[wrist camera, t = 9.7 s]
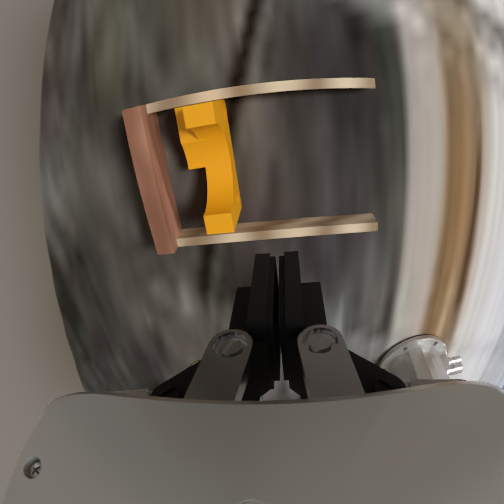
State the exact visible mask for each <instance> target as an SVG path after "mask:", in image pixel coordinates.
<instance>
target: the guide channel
mask: <svg viewBox="0 0 504 504" xmlns="http://www.w3.org/2000/svg"><path fill="white" fill-rule="evenodd" d="M329 88H375V78H322V79H302V80H288V81H277V82H267V83H258V84H250V85H242V86H235V87H229V88H222V89H216V90H210V91H205V92H200V93H194V94H189V95H185V96H180V97H175V98H171V99H167V100H162V101H158V102H154V103H150V104H146V105H141V106H137V107H134V108H130V109H126V110H123V111H122V114H123V119H124V124H125V129H126V134H127V138H128V143H129V148H130V152H131V156H132V161H133V165H134V169H135V173H136V177H137V181H138V185H139V189H140V193H141V197H142V201H143V204H144V208H145V212H146V215H147V219H148V223H149V226H150V230H151V233H152V236H153V240H154V243H155V247H156V250H157V253H158V255H161V254H173V253H175V252H176V250H177V248H178V247H181V246H192V245H203V244H215V243H227V242H239V241H251V240H263V239H275V238H288V237H301V236H314V235H327V234H340V233H354V232H368V231H377V230H378V222H377V220H376V219H375V217H374V216H373V214H372V213H367V214H351V215H337V216H323V217H309V218H296V219H284V220H272V221H260V222H249V223H238V224H237V225H236V228H235V232H231V233H220V234H209V235H207V230H206V227H197V228H187V229H182V227H181V222H180V218H179V214H178V210H177V206H176V202H175V197H174V193H173V189H172V184H171V180H170V175H169V171H168V166H167V161H166V157H165V152H164V147H163V142H162V137H161V132H160V127H159V122H158V116H157V112H158V111H162V110H166V109H171V108H175V107H180V106H185V105H190V104H195V103H201V102H206V101H212V100H218V99H224V98H231V97H238V96H245V95H253V94H261V93H270V92H281V91H293V90H308V89H329Z"/></svg>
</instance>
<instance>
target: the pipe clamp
mask: <svg viewBox="0 0 504 504" xmlns="http://www.w3.org/2000/svg"><path fill="white" fill-rule="evenodd" d="M175 114H176V120H177V125H178V130H179V135H180V141H181V144H182V147H183V149H184V152H185V155H186V159H187V163H188V168H189V169H196V168H203V167H206V175H207V205H206V210H205V213H204V221H205V226H206V230H207V235H209V234H220V233H231V232H235V228H236V225H237V221H238V218H239V214H240V211H241V208H242V206H241V200H240V193H239V187H238V181H237V175H236V168H235V162H234V156H233V149H232V143H231V137H230V130H229V124H228V118H227V111H226V105H225V99H221V100H215V101H209V102H204V103H198V104H193V105H188V106H183V107H179V108H175Z"/></svg>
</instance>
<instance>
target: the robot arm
mask: <svg viewBox="0 0 504 504" xmlns="http://www.w3.org/2000/svg"><path fill="white" fill-rule="evenodd" d="M281 353H282V363H283V373H284V380H289V387H290V389H292V390H293V391H295V392H296V393H297V394H299V395H300V399H298V400H273V401H263V395H264V394H265V393H266V392H268V391H269V390H270V389H274V381H280V354H281ZM446 355H447V348H446V345H445V343H444V342H443V340H442V339H441V338H439V337H437V336H433V335H421V336H416V337H413V338H410V339H408V340H405V341H403V342H401V343H400V344H398V345H396V346H395V347H393V348H392V349H391V350H390V351H389V352H388V353H387V354H386V355H385V356H384V357H383V358H382V360H381V362H380V363H379V366H377V365H375V364H373V363H371V362H369V361H368V360H366V359H364V358H362V357H360V356H359V355H357V354H355V353H353V352H351V351H350V350H348V349H347V346H346V344H345V341H344V339H343V336H342V335H341V333H340V332H339V331H338V330H337V329H336V328H334V327H332V326H329V325H327V323H326V316H325V310H324V303H323V297H322V291H321V285H320V282H312V283H301V279H300V267H299V256H298V251H293V252H284V256H279V287H278V277H277V268H276V259H275V256H274V257H270V253H266V254H256V255H255V262H254V269H253V276H252V283H251V287H238V288H237V292H236V297H235V302H234V306H233V311H232V316H231V321H230V326H229V330H225V331H222V332H220V333H218V334H216V335H215V336H214V337H213V338H212V339H211V341H210V342H209V344H208V346H207V348H206V351H205V353H204V355H203V357H202V359H201V360H200V361H198V362H197V363H195V364H194V365H192V366H190V367H189V368H187V369H185V370H184V371H182V372H181V373H179V374H177V375H176V376H174V377H172V378H171V379H169V380H167V381H166V382H164V383H162V384H161V385H159V386H158V387H156V388H155V389H154V390H153V391H149V390H148V389H140V390H129V391H117V392H96V391H91V392H78V393H73V394H69V395H65V396H62V397H59V398H57V399H55V400H54V401H52V402H51V403H50V404H49V405H48V406H47V407H46V408H45V410H44V411H43V412H42V414H41V415H40V417H39V419H38V420H37V422H36V424H35V425H34V427H33V429H32V431H31V433H30V435H29V436H28V438H27V441H26V443H25V445H24V447H23V449H22V451H21V453H20V456H19V458H18V461H17V463H16V465H15V468H14V470H13V473H12V475H11V478H10V481H9V483H8V486H7V489H6V491H5V494H4V497H3V501H2V504H504V390H503V389H501V388H500V387H498V386H495V385H492V384H489V383H485V382H476V381H466V380H462V379H450V378H449V376H448V375H453V374H458V373H461V372H462V369H463V368H462V364H461V363H460V362H461V358H460V356H455V357H452V358H448V357H447V356H446Z"/></svg>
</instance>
